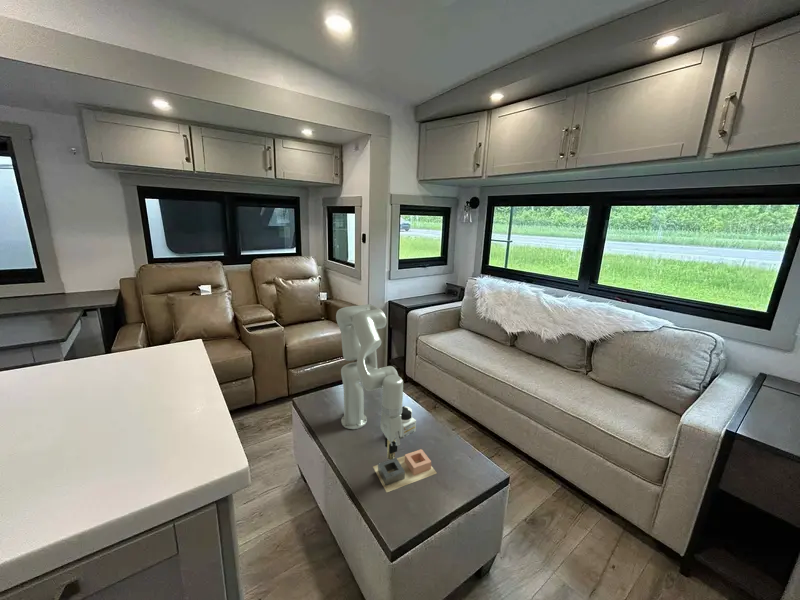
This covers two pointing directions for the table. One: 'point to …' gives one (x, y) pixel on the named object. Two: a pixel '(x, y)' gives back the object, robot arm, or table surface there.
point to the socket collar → (417, 467)
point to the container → (407, 421)
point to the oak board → (408, 476)
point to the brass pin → (389, 456)
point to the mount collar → (392, 476)
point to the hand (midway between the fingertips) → (391, 448)
